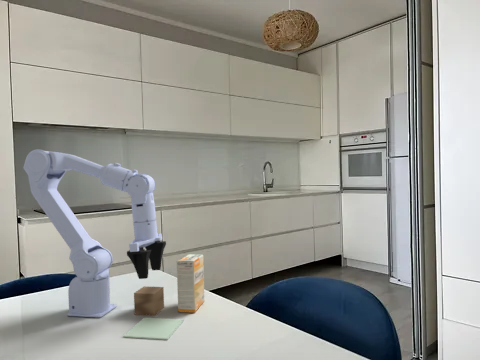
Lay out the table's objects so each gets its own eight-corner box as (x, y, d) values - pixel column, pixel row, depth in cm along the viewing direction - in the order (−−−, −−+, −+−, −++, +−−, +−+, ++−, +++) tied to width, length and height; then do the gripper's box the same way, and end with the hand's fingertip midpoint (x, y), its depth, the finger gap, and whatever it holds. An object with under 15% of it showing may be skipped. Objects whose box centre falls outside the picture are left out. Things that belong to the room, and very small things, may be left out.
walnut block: (134, 315, 89) (133, 293, 89) (144, 307, 94) (143, 286, 94) (155, 316, 88) (154, 293, 88) (164, 307, 93) (163, 287, 93)
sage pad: (123, 337, 76) (123, 335, 76) (144, 318, 86) (144, 317, 86) (167, 339, 74) (167, 338, 74) (183, 320, 84) (183, 319, 84)
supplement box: (195, 313, 89) (194, 260, 89) (177, 312, 90) (175, 260, 90) (205, 301, 97) (204, 253, 97) (188, 301, 98) (187, 253, 98)
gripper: (146, 223, 83) (152, 281, 83) (170, 216, 97) (175, 265, 97) (119, 226, 84) (124, 283, 85) (146, 218, 99) (151, 267, 99)
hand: (150, 274), depth 91 cm, fingers open, 7 cm apart
